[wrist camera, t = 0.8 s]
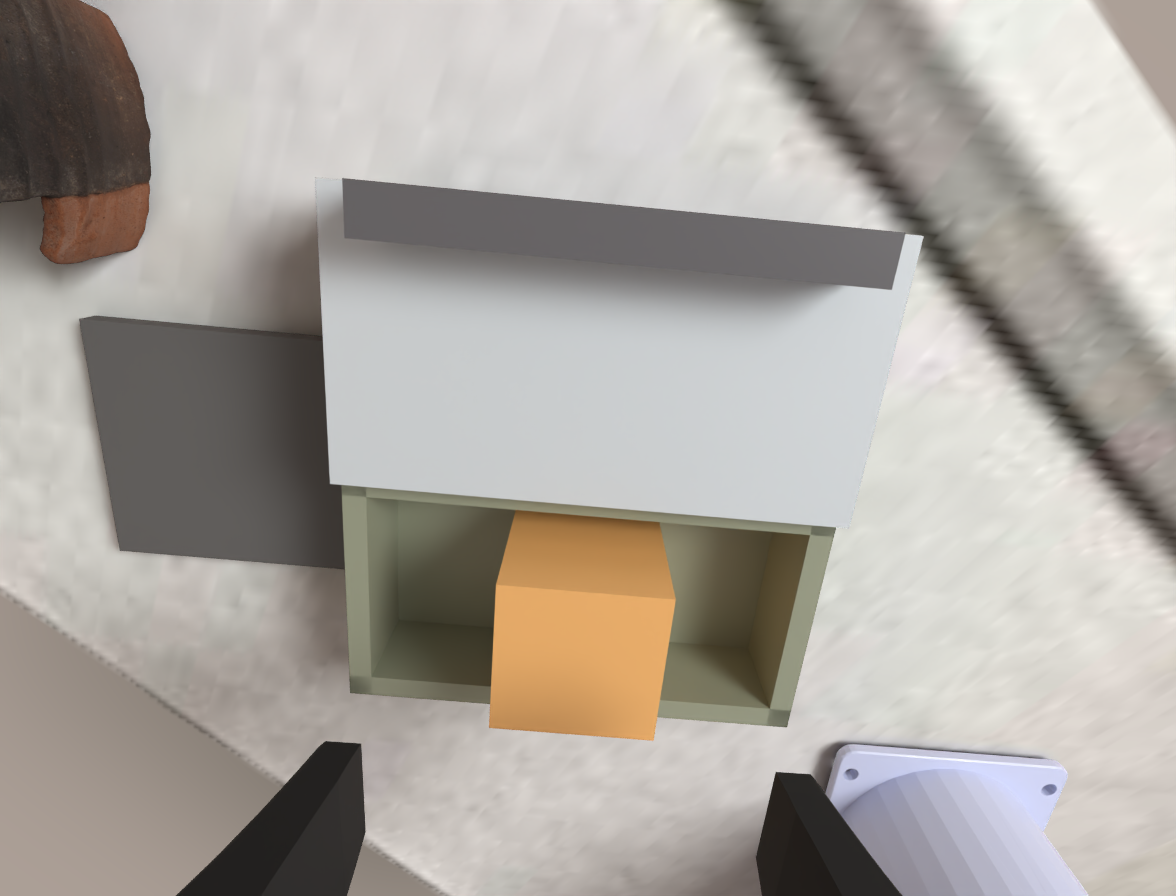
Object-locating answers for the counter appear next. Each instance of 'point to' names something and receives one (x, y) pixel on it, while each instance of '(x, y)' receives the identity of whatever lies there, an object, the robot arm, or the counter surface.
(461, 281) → the lid
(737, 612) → the case
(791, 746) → the counter surface
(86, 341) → the mat
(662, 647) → the block
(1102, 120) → the counter surface
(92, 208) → the broken clay pot
